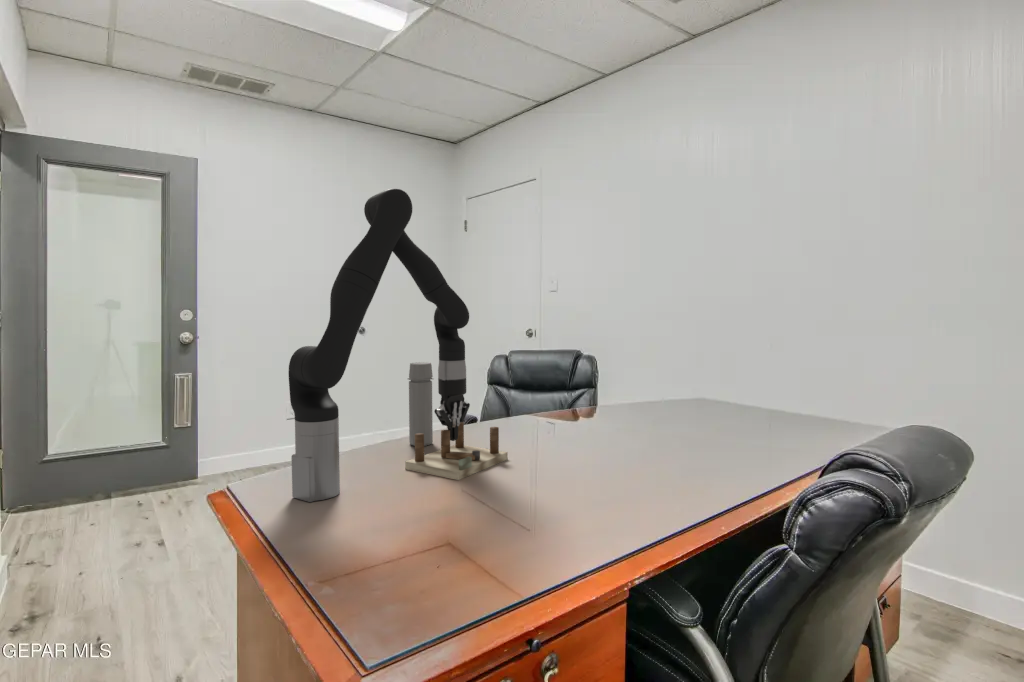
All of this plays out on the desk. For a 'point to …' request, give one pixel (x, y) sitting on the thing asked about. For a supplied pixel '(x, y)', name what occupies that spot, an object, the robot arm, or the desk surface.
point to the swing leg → (456, 455)
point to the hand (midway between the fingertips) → (453, 440)
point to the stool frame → (456, 467)
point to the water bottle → (420, 402)
